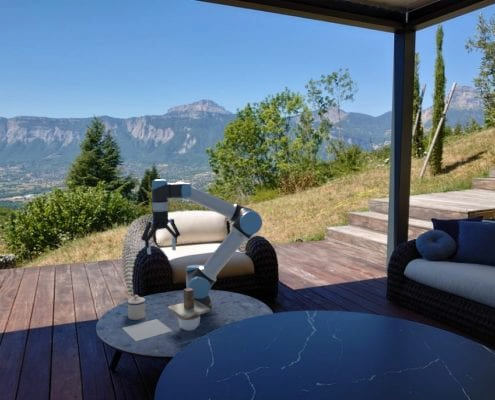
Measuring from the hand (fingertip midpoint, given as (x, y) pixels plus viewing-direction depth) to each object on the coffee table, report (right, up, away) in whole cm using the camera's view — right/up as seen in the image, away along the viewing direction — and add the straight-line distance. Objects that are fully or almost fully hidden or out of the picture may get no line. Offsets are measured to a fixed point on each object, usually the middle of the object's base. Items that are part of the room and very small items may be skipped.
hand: (161, 252), depth 207 cm
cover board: (+15, -27, -11) cm, 33 cm away
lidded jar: (+16, -36, -10) cm, 40 cm away
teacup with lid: (-15, -35, +6) cm, 38 cm away
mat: (-5, -36, -11) cm, 38 cm away
